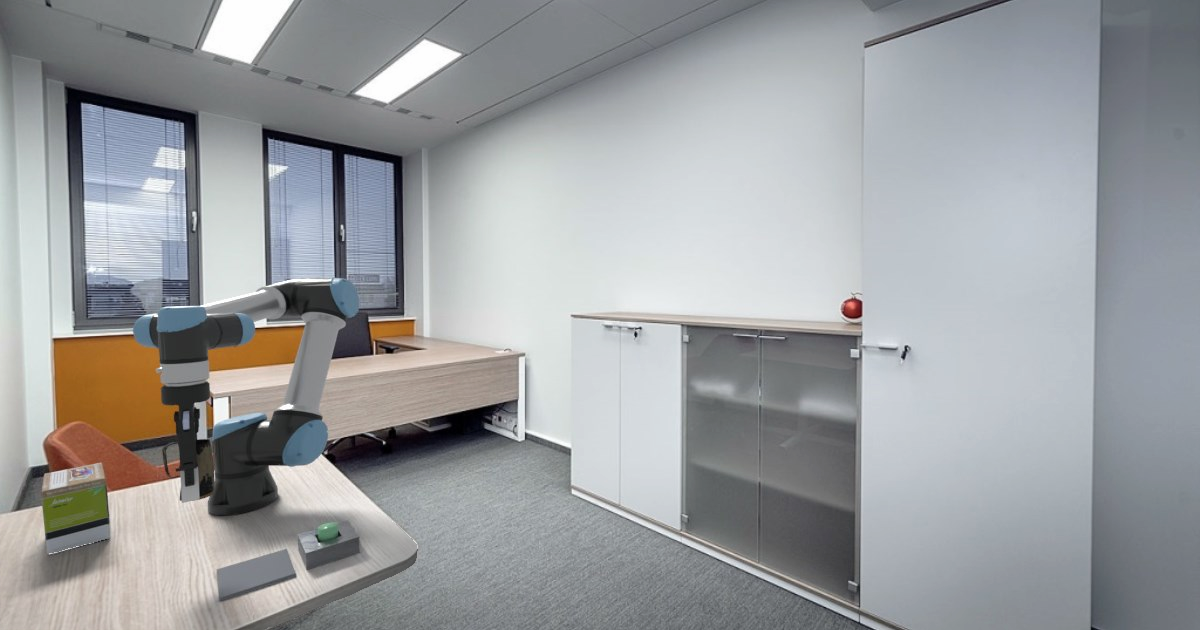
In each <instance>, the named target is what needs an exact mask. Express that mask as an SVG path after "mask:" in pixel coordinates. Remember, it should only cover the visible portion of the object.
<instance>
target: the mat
mask: <svg viewBox="0 0 1200 630" xmlns="http://www.w3.org/2000/svg"><path fill="white" fill-rule="evenodd" d="M295 577H297V573H296V570H295V567H294V565H293V562H292V560H291V557H290V554H289V551H288V549H287V548H284V549H280V550H277V551H274V552H271V553H268V554H263V555H261V556H256V557H254V558H249V559H247V560H244V561H243V560H242V561H241V562H237V563H234V564H230V565H228V566H223V567H220V568H217V569H216V578H217V579H216V580H217V590H218V601H219V602H221V601H225V600H229V599H230V598H233V597H237V596H240V595H243V594H247V593H248V592H251V591H254V590H259V589H261V588H264V587H266V586H269V585H273V584H276V583H279V582H282V581H285V580H288V579H291V578H295Z"/></svg>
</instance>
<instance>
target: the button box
mask: <svg viewBox="0 0 1200 630" xmlns="http://www.w3.org/2000/svg"><path fill="white" fill-rule="evenodd" d="M336 523H337V524H338V537H337V538H334V539H331V540H327V541H324V542H321V543H318V528H315V529H312V530H309V531H304V532H302V533H297V550H298V552H299V553H298V554H299V555H300V557H301V560H302V563H303V565H304V567H305V569H306V571H308V570H312V569H314V568H317V567H321V566H323V565H326V564H329V563H332V562H336V561H339V560H341V559H345V558H348V557H351V556H353V555H357V554H360V553H361V546H360V545H361V544H360V543H361V542H360V535H359V534H358V532H357V531H356V529H355V528H354V527H353V525H352V524H351V522H350V521H349V520H344V521H340V522H336Z"/></svg>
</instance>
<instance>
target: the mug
mask: <svg viewBox="0 0 1200 630" xmlns="http://www.w3.org/2000/svg"><path fill="white" fill-rule="evenodd" d="M175 444H176V445H178V447H179V441H173V442H169V443H166V444H165V445H164V446H163V447H162V449H161V450H162V451H161V452H162V458H163V467H164V471H165V473H166V475H167V477H168V478H171V479H177V478H179V477H180V474H177V475H174V476H171V473H170V472H169V465H168V460H167V457H168V456H167V450H168V447H170V446H171V445H175ZM196 456H197V464H198V476H199V496H200V499H199V500H198V501H200V500H203V499H206V498H209V497H210V496H211V495H213V494H214V481H215V470H214V457H213V447H212V444H211V440H210V438H209V439H208V438H202V439H201V438H200V439H197V440H196ZM180 478H181V477H180ZM179 501H181V502H182V496H181V489H180V491H179ZM195 501H196V500H194V501H193V502H195Z"/></svg>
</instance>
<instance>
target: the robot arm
mask: <svg viewBox="0 0 1200 630" xmlns="http://www.w3.org/2000/svg"><path fill="white" fill-rule="evenodd" d="M359 310H360V296H359V293H358V290H357V288H356V286H355V285H354V283H353V281H351V280H349V279H347V278H342V277H331V278H330V277H329V278H327V277H325V278H324V277H323V278H318V277H317V278H310V277H309V278H306V277H305V278H304V277H302V278H294V279H293V278H292V279H289V280H285V281H281V282H277V283H273V284H269V285H266V286H265V285H264V286H262V287H259V288H257V289H256V290H255V292H252V293H247V294H243V295H239V296H236V297H235V296H234V297H231V298H227V299H222V300H219V301H215V302H211V303H206V304H203V305H201V304H200V305H183V306H182V305H180V306H163V307H161V308H160V309H158V311H157V313H151V314H145V315H142V316H140V317H139V318H138V319H137V320H136V321H135V323H134V325H133V328H132V333H133V336H134V337H133V338H134V339H135V341H136V342H137V343H138V344H139V345H140V346H143V347H146V348H156V349H158V356H159V366H160V367H158V368H156V369H155V373H157V374H160V376H159V377H160V383H161V384H163V385H162V386H161V388H160V398H161V404H162V405H164V406H170V407H171V406H177V407H178V410H177V411H174V413H173V422H174V423H175V434H176V435H177V436H178V443H179V446H178V450H179V451H178V452H179V466H178V468H175V472H176V473H178V472H179V475H180V490H181V496H182V501H181V504H184V503H188V502H189V503H190V502H195V501H200V500H201V499H200V496H199V476H198V464H197V456H196V440H198V433H199V431H200V430H199V427H200V418H201V411H200V410H201V409H200V408H197V406H196V405H195V404H197V403H203V402H205V401H208V400H209V399H210V398H211V387H210V385H211V384H210V382H209V381H207V380H208V379H210V362H209V361H210V360H209V350H210V351H211V350H216V349H225V348H231V347H233V348H237V347H239V346H242V345H246V344H248V343H250V342H251V341H252V340H253V338H254V337H255V334H256V325H255V322H259V321H262V320H265V319H267V320H276V319H280V318H293V317H294V318H301V319H302V321H303V322H304V324H305V325H304V328H303V332H302V334H301V339H300V343H299V346H298V350H297V353H296V356H295V360H294V364H293V367H292V371H291V374H290V378H289V382H288V384H287V387H286V391H285V395H284V398H283V402H282V405H280V406H279V407H278V408H276V409H274V410H273V414H272V416H271V419H268V416H267V414H266V413H265V412H257V413H256V412H255V413H249V414H244V415H243V414H242V415H239V416H234V417H230V418H228V419H224V420H221V421H219V422H217V423H215V424H214V426H213V428H212V438H211V442H212V444H211V445H212V454H213V463H214V494H213V495H211V496H209V497H208V500H207V511H208V514H211V515H214V516H231V515H238V514H243V513H244V514H245V513H248V512H251V511H255V510H257V509H261V508H264V507H266V506H268V505H270V504H271V503H273V502H274V501H276V500H277V498H278V497H279V490H278V489H279V488H278V485H277V484H276V483H277V482H276V481H275V479H274V476H273V475H272V472H271V471H270V467H272V466H274V467H276V466H277V467H284V466H285V467H290V468H293V467H298V466H299V467H301V466H302V467H303V466H308V465H310V464H312V463H313V462H315V461H316V460H318V459H319V457H320V456H321V455H322V453H323V452H324V450H325V448H326V446H327V443H328V437H329V432H328V425H327V423H326V422H324V421H323V419H324V415H323V414H322V413H321V411H320V409H319V408H320V406H321V400H322V396H323V393H324V389H325V385H326V381H327V378H328V377H327V376H328V372H329V369H330V366H331V361H332V358H333V353H334V350H335V346H336V342H337V337H338V334H339V331H340V330H341V329H343V328H345V327H346V325H347V322H348V319H350V318H352V317H356V316H357V314H358V312H359ZM199 499H200V500H199ZM194 500H195V501H194Z"/></svg>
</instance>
